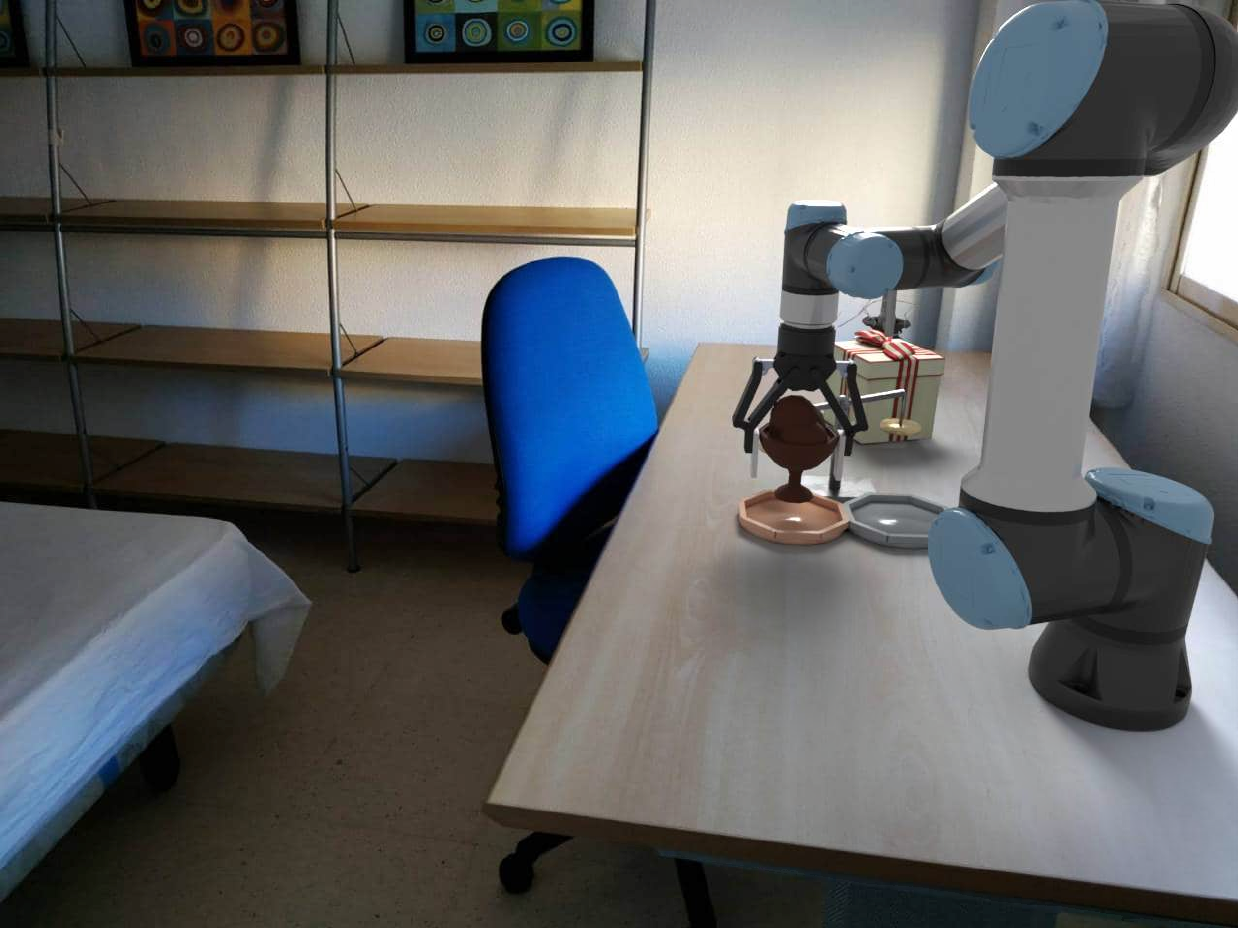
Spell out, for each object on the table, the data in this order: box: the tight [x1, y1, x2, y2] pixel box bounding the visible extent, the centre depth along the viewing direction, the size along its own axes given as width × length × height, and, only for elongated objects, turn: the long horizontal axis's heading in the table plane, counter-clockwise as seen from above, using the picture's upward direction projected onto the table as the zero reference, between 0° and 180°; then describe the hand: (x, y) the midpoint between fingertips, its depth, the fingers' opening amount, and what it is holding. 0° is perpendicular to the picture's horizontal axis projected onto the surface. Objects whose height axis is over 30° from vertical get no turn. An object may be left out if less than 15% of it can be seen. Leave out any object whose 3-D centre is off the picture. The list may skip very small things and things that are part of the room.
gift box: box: [822, 329, 946, 445], centre depth 176 cm, size 17×18×17 cm
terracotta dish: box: [737, 488, 849, 546], centre depth 139 cm, size 15×15×2 cm
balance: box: [758, 389, 921, 504], centre depth 147 cm, size 8×24×17 cm, turn 86°
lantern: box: [833, 290, 915, 342], centre depth 210 cm, size 18×20×30 cm
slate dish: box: [843, 492, 949, 550], centre depth 139 cm, size 15×15×2 cm
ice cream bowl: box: [758, 394, 840, 503], centre depth 136 cm, size 11×11×15 cm
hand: (795, 475), depth 137 cm, fingers closed on ice cream bowl, 11 cm apart
